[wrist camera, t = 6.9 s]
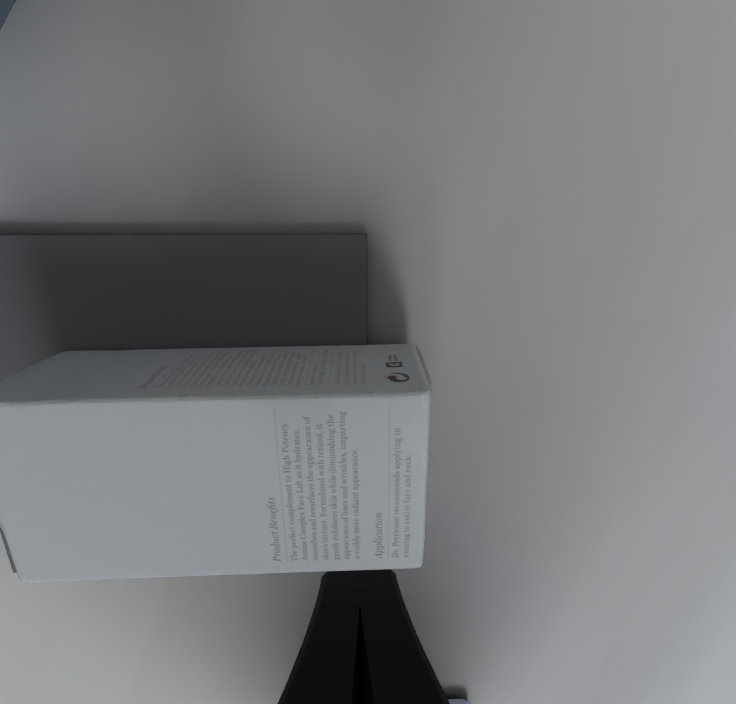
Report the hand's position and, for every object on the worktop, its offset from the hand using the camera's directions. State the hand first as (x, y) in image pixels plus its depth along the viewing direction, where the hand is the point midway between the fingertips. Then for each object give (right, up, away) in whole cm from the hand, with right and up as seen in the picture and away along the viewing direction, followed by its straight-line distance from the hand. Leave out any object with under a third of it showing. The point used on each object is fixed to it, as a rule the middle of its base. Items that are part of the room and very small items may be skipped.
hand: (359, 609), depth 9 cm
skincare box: (+2, +2, +5) cm, 6 cm away
